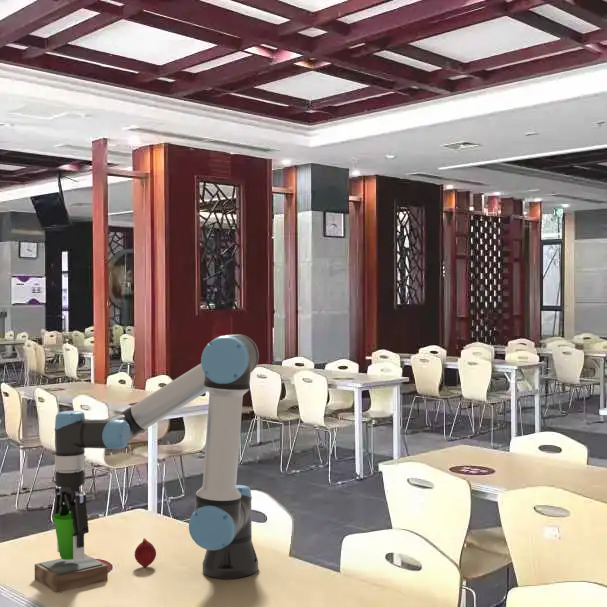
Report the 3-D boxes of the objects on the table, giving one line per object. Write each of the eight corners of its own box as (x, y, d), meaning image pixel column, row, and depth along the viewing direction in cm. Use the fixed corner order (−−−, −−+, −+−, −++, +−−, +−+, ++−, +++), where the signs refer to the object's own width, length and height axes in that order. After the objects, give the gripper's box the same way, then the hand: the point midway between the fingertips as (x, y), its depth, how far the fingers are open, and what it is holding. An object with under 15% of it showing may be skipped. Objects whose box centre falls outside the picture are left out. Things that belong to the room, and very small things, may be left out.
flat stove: (107, 580, 217) (107, 564, 217) (57, 592, 208) (56, 575, 208) (83, 567, 228) (83, 552, 228) (34, 579, 219) (34, 563, 219)
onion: (160, 565, 229) (160, 536, 229) (148, 571, 224) (147, 542, 224) (143, 562, 232) (142, 534, 232) (130, 569, 226) (130, 539, 226)
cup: (78, 563, 212) (78, 520, 213) (46, 561, 214) (45, 518, 214) (94, 552, 221) (93, 511, 221) (62, 551, 223) (62, 510, 223)
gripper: (102, 474, 212) (102, 561, 212) (65, 462, 229) (66, 543, 229) (74, 478, 207) (75, 567, 207) (39, 465, 224) (40, 548, 224)
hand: (70, 555), depth 218 cm, fingers closed on cup, 9 cm apart
